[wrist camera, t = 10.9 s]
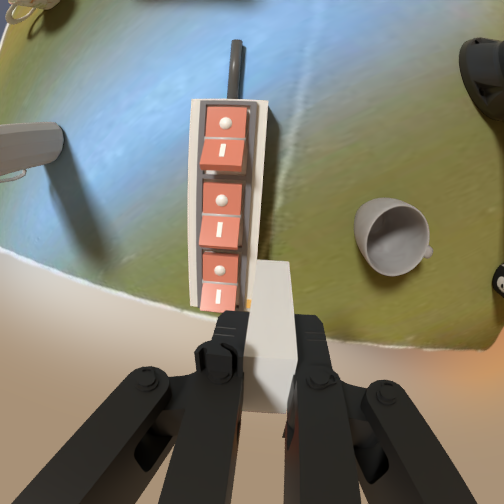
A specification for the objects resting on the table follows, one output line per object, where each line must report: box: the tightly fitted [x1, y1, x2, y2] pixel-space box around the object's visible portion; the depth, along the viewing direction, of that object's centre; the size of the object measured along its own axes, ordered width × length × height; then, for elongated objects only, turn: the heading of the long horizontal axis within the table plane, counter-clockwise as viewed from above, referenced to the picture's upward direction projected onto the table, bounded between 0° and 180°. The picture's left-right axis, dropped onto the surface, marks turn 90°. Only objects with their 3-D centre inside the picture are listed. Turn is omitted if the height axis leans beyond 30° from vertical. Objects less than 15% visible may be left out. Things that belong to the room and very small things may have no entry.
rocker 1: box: [199, 107, 247, 172], centre depth 29 cm, size 8×5×2 cm, turn 176°
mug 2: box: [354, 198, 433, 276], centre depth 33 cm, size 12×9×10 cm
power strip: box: [188, 40, 268, 312], centre depth 34 cm, size 37×9×5 cm, turn 176°
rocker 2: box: [200, 252, 239, 313], centre depth 36 cm, size 8×5×2 cm, turn 176°
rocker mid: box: [199, 182, 243, 250], centre depth 33 cm, size 8×5×2 cm, turn 176°
